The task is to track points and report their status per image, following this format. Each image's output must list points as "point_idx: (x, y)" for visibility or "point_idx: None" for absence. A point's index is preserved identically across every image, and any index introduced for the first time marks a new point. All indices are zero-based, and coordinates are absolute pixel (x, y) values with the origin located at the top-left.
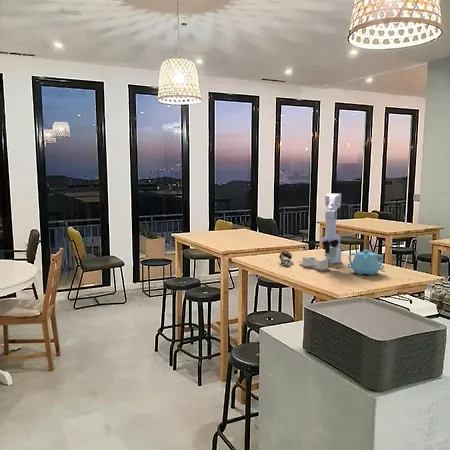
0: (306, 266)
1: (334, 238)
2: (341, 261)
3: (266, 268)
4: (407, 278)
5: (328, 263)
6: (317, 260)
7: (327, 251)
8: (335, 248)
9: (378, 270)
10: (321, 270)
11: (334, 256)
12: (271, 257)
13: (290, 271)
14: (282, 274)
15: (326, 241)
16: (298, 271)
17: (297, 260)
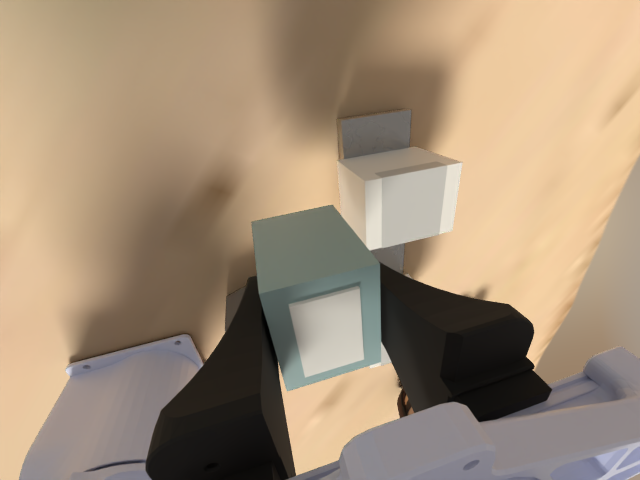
0: None
1: (474, 453)
2: (70, 371)
3: (555, 298)
4: None
5: (239, 300)
6: (456, 202)
7: None
8: (271, 281)
9: None
10: (406, 139)
11: (274, 218)
12: None
13: (540, 209)
14: (626, 155)
15: (515, 385)
16: (512, 194)
17: (326, 419)
